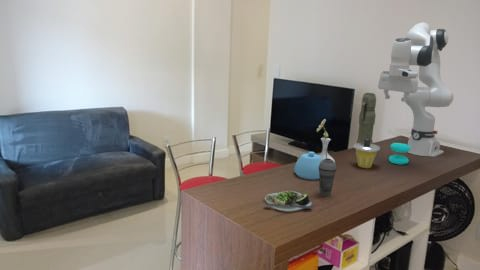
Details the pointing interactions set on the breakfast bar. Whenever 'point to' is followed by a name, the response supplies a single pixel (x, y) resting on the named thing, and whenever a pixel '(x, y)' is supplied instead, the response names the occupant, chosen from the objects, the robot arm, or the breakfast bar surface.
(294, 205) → the salad plate
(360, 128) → the olive green textured cylinder
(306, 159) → the sugar bowl
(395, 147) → the donuts
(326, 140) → the flower in vase
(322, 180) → the beverage cup
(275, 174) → the breakfast bar surface
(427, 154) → the robot arm
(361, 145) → the steel lid
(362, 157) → the plant pot
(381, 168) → the breakfast bar surface
